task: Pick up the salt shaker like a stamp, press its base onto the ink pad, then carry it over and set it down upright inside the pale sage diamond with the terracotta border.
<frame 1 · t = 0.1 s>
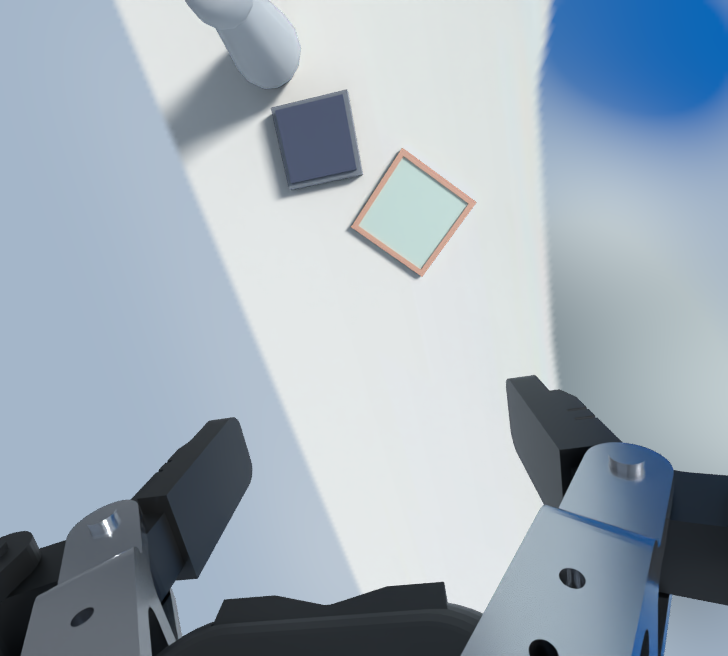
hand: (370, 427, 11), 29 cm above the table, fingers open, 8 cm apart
ink pad: (319, 143, 37), on the table
marked square: (412, 214, 38), on the table
salt shaker: (275, 61, 35), on the table
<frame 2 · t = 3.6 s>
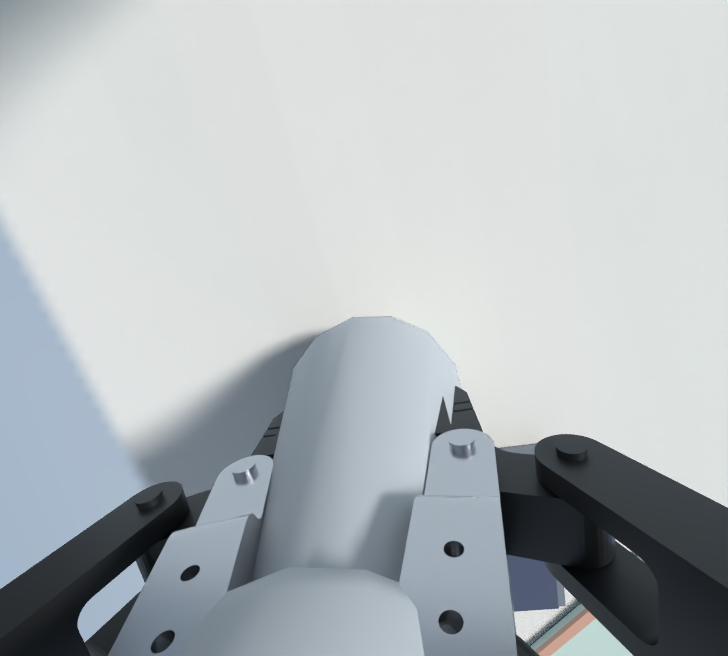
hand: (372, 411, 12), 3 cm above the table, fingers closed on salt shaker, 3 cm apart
ink pad: (465, 523, 17), on the table
marked square: (650, 649, 18), on the table
salt shaker: (378, 371, 16), on the table, touching gripper
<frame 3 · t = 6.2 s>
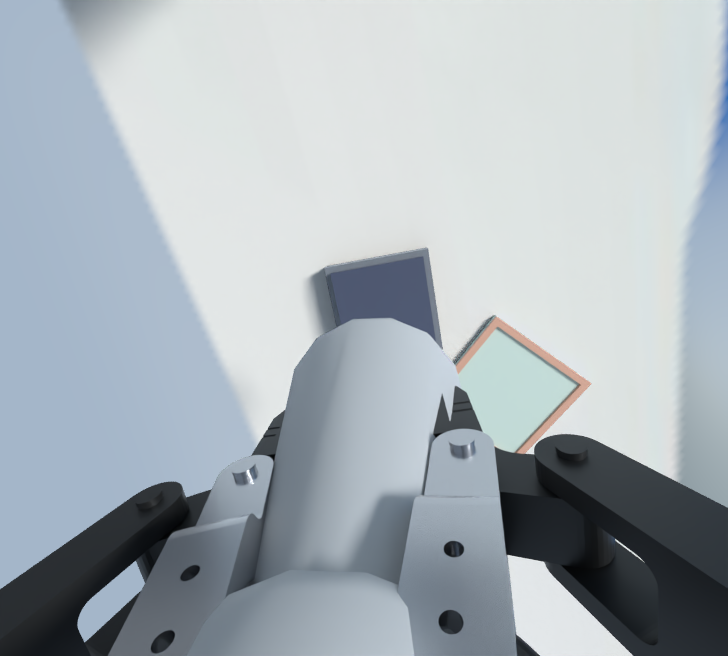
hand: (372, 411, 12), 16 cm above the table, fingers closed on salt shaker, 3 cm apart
ink pad: (384, 305, 28), on the table
marked square: (503, 392, 29), on the table
salt shaker: (378, 372, 16), point 13 cm above the table, touching gripper
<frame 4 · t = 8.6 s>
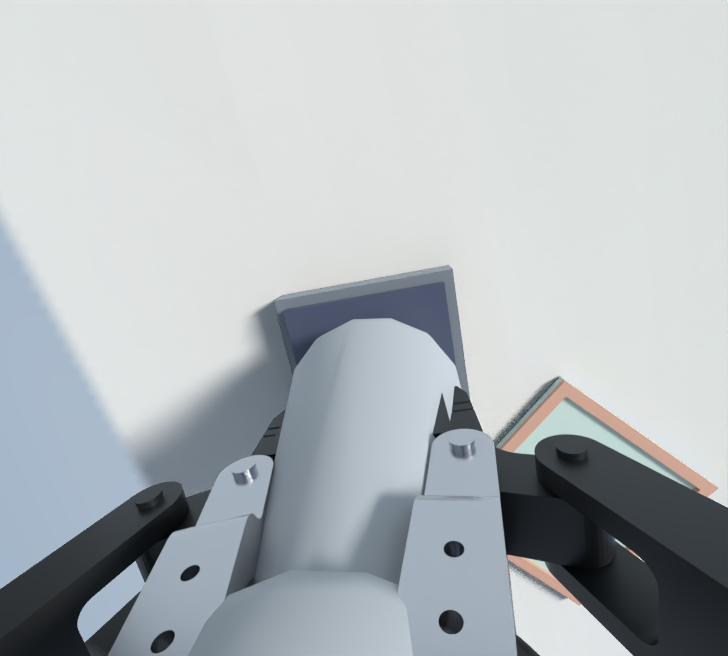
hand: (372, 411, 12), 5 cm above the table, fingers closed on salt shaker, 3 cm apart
ink pad: (378, 359, 17), on the table
marked square: (568, 495, 18), on the table
salt shaker: (378, 372, 16), point 1 cm above the table, touching gripper, ink pad
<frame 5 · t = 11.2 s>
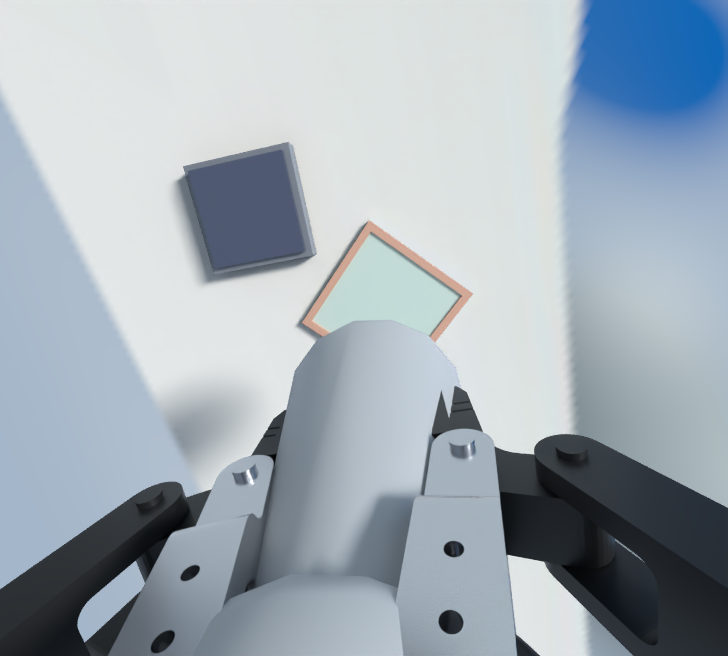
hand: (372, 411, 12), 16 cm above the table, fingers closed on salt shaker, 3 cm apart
ink pad: (255, 212, 26), on the table
marked square: (385, 307, 27), on the table
salt shaker: (378, 374, 16), point 12 cm above the table, touching gripper
when the fingers open (4 cm above the table, at t = 13.4 s): salt shaker stays where it is, resting on marked square.
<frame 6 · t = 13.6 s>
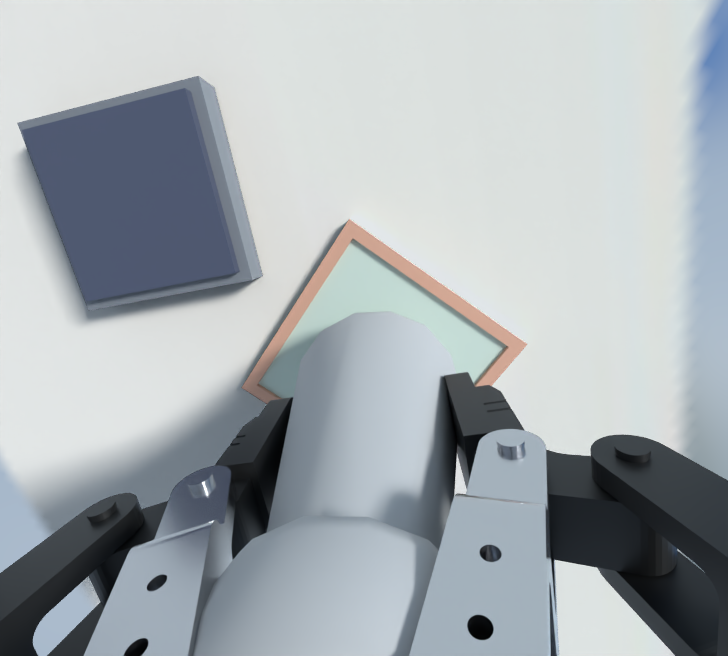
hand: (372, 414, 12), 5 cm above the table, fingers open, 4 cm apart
ink pad: (157, 205, 16), on the table
marked square: (378, 362, 17), on the table
salt shaker: (379, 364, 17), resting on marked square
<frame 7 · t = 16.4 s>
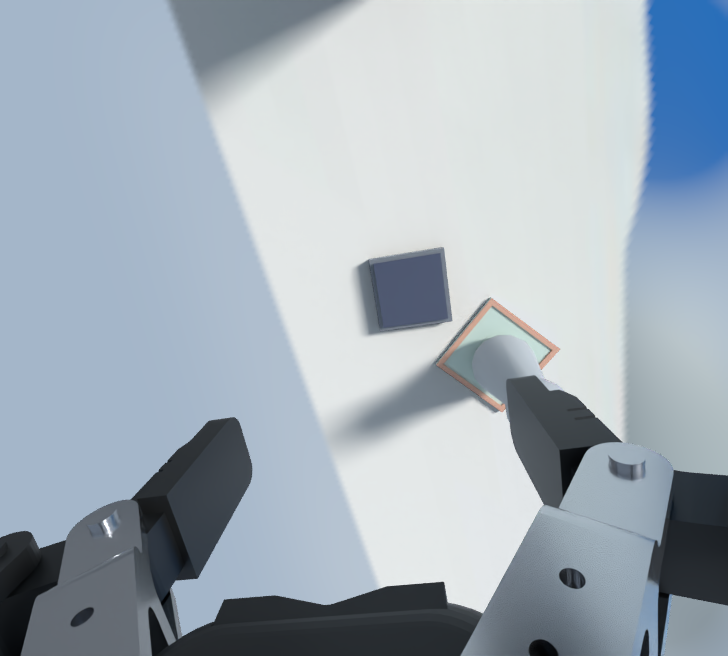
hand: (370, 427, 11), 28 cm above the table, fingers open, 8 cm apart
ink pad: (410, 288, 38), on the table
marked square: (495, 355, 39), on the table
salt shaker: (496, 356, 39), resting on marked square
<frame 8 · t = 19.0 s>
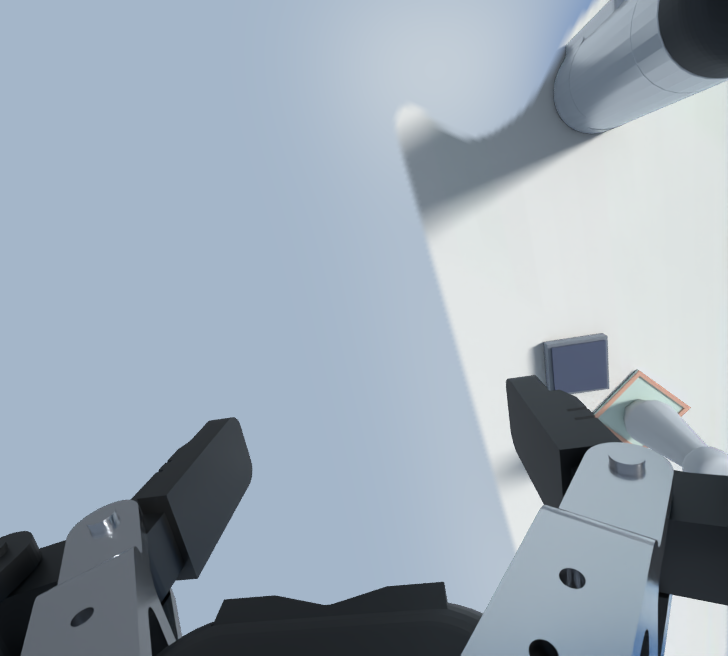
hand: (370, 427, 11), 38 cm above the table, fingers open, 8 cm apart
ink pad: (574, 363, 49), on the table
marked square: (637, 412, 51), on the table
salt shaker: (638, 412, 50), resting on marked square
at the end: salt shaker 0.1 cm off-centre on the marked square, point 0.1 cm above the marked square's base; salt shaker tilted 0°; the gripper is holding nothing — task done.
